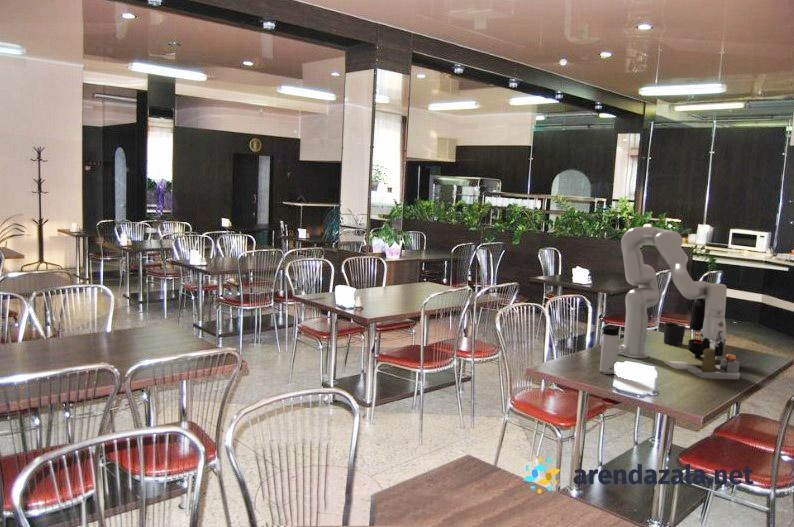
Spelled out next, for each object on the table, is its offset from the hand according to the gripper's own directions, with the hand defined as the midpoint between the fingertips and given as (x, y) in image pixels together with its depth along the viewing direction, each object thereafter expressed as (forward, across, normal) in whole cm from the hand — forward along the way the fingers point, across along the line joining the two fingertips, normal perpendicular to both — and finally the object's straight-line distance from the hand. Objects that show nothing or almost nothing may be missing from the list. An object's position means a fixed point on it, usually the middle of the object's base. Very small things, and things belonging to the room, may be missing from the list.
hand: (711, 353), depth 255 cm
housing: (+9, +1, -1) cm, 10 cm away
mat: (+9, +13, +7) cm, 17 cm away
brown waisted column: (+10, +1, +1) cm, 10 cm away
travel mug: (+9, -1, +45) cm, 45 cm away
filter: (+9, +29, -10) cm, 32 cm away
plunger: (+6, -2, -7) cm, 9 cm away
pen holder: (+9, +53, -10) cm, 54 cm away
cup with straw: (+9, +19, -10) cm, 23 cm away
